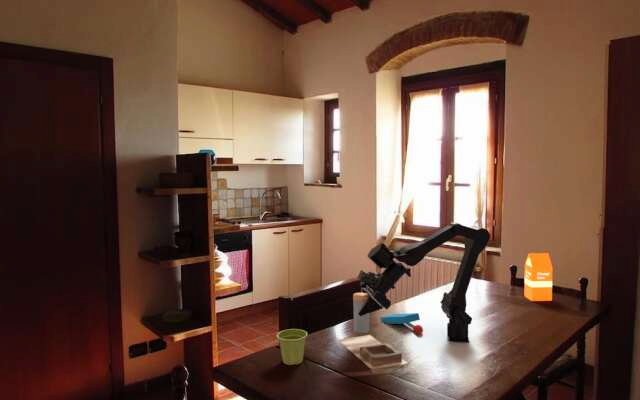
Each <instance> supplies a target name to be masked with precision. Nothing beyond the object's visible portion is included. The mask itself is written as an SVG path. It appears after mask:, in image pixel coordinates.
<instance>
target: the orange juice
mask: <svg viewBox="0 0 640 400" xmlns="http://www.w3.org/2000/svg"><path fill="white" fill-rule="evenodd" d="M551 261H552V260H551V259H550V254H549V252H547V253H546V252H543V253H542V252H541V253H538V252H537V253H531V252H530V253H528V255H527V258H526V260H525V263H524V297H525V298H527V299H528V300H530V301H531V302H545V301H546V302H547V301H549V302H550V301H553V265H552V262H551Z"/></svg>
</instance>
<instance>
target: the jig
mask: <svg viewBox="0 0 640 400" xmlns="http://www.w3.org/2000/svg"><path fill="white" fill-rule="evenodd" d="M337 341H338V342H340V343H341V344H342V345H343V346H344V347H345V348H346V349H348V350H349V352H351V353H352V354H353V355H355V357H357V358H358V359H359V360H360V361H361V362H363V363H364V364H365V365H366V366H367V367H368V368H370V369H369V370H368V371H369V372H370V373H371V374H375V373H380V372H386V371H391V370H397V369H404V366H402V365H407V364H409V362H407V360H405V359H404V358H402V357H403V354H402V352H400V351H399V350H398V349H396V348H395V347H393V346H392V345H390V344H389V343H388V342H385V343H382V342H380V341H379V340H377V339H376V338H375V337H374V336H373V335H371V334H366V335H360V336H353V337H346V338H340V339H337ZM397 366H398V367H397ZM407 367H409V366H407Z"/></svg>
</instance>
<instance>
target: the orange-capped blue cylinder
mask: <svg viewBox="0 0 640 400" xmlns="http://www.w3.org/2000/svg"><path fill="white" fill-rule="evenodd" d="M352 296H353V297H352V301H353V304H352V305H353V331H354V332H355V333H358V334H366V333H368V332H370V313H367V314H365V315H363V316H360V315H359V314H358V313H359V312H360V310H361V309H362V307H363V306H364V305H365V303H366V302H367V299H368V294H367V293H361V292H355V293H353V294H352Z"/></svg>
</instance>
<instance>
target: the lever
mask: <svg viewBox="0 0 640 400" xmlns="http://www.w3.org/2000/svg"><path fill="white" fill-rule="evenodd" d="M379 318H380V322H381V323H382V322H383V323H386V324H392V325H394V324H397V325H398V324H404V325H407V326H408V327H410V328H411V329H412V332H413V333H414V334H415V335H417V336H418V335H419V336H420V335H421V334H423V333H424V332H423V331H424V328H423V326H422V325H420V324H416V325H415V324H413V323H412V322H416V321H420V315H419V313H418V312H417V313H415V312H414V313H393V314H388V315H385V316H384V315H383V316H380V317H379Z"/></svg>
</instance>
